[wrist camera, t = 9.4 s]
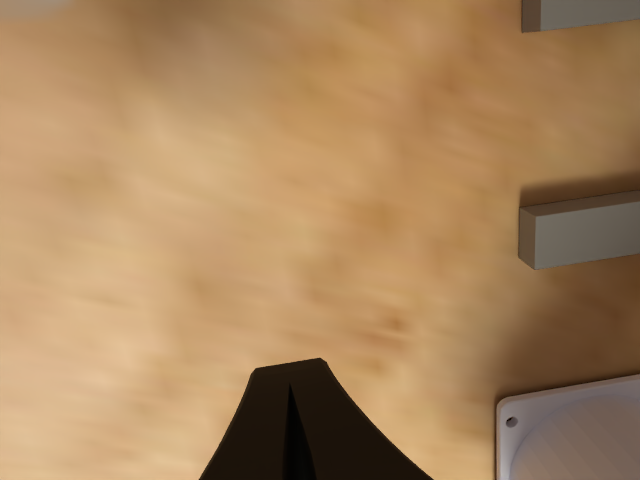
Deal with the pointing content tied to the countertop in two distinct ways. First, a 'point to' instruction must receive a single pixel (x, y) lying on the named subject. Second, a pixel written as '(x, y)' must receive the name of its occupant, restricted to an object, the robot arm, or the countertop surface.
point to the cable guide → (586, 213)
